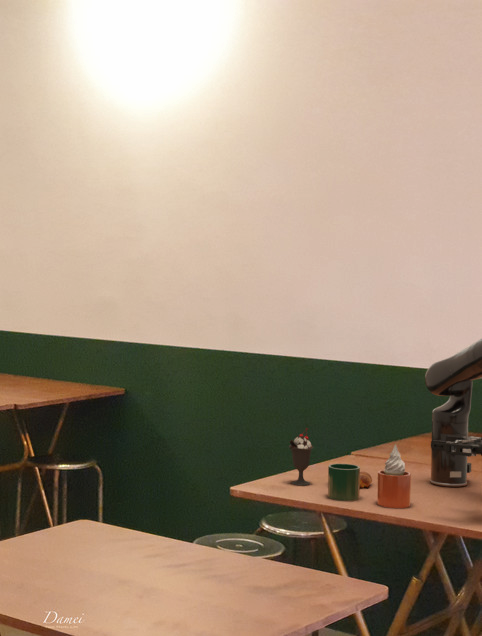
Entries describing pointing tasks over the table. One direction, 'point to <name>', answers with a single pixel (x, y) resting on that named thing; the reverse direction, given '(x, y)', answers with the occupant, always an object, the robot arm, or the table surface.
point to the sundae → (301, 456)
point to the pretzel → (365, 479)
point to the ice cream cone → (394, 464)
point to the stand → (343, 482)
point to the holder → (394, 490)
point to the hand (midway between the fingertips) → (438, 442)
